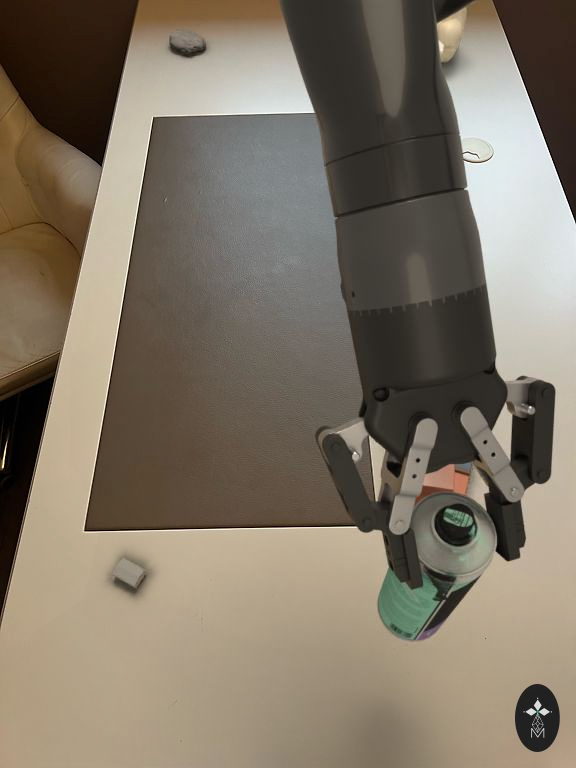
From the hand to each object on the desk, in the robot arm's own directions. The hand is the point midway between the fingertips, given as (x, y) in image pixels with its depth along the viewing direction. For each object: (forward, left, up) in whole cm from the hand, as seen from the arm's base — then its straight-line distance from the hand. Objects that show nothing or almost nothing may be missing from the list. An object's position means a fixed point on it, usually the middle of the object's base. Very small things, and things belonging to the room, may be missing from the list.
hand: (459, 567), depth 37 cm
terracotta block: (+1, -19, -29) cm, 35 cm away
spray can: (+1, -2, -16) cm, 17 cm away
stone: (+69, -100, -30) cm, 125 cm away
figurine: (+20, -111, -30) cm, 117 cm away
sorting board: (+1, -22, -30) cm, 37 cm away
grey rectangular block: (+29, +1, -30) cm, 42 cm away
